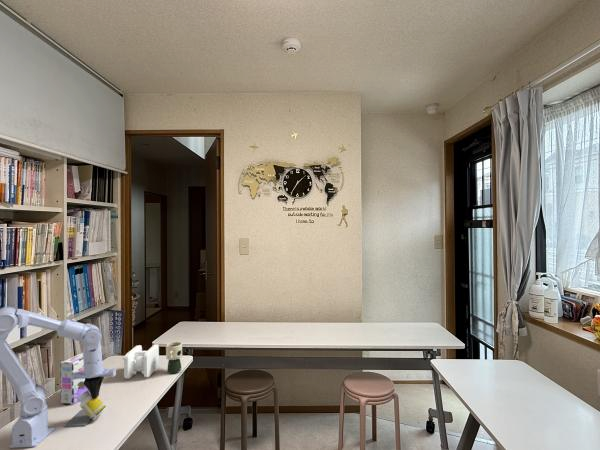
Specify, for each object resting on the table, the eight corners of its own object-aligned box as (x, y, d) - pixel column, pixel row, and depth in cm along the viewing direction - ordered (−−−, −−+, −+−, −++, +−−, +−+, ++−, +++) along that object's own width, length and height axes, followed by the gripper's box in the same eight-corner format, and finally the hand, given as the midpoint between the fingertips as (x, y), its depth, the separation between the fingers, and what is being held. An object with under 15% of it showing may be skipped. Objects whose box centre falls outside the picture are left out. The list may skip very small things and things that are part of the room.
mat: (85, 426, 120) (85, 424, 120) (64, 427, 119) (64, 425, 119) (100, 410, 130) (100, 409, 130) (80, 411, 129) (80, 409, 129)
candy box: (72, 405, 134) (72, 363, 133) (60, 404, 135) (59, 362, 135) (100, 388, 147) (99, 350, 147) (88, 387, 148) (87, 349, 148)
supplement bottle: (109, 405, 127) (91, 385, 127) (102, 413, 122) (83, 393, 121) (98, 415, 127) (80, 395, 127) (90, 423, 122) (71, 403, 121)
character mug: (178, 376, 158) (177, 348, 157) (162, 377, 157) (162, 348, 157) (185, 366, 168) (185, 340, 168) (170, 366, 168) (170, 340, 168)
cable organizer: (146, 381, 154) (146, 355, 154) (122, 381, 153) (122, 355, 153) (159, 366, 169) (159, 343, 169) (137, 367, 168) (137, 343, 168)
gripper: (118, 354, 128) (121, 389, 129) (78, 356, 127) (80, 392, 128) (109, 362, 121) (112, 400, 122) (66, 365, 120) (69, 403, 121)
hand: (95, 397), depth 124 cm, fingers closed
